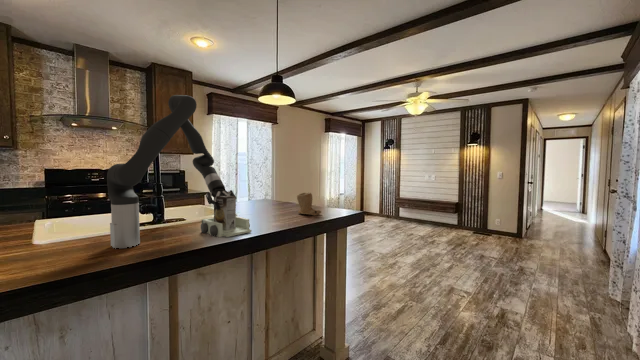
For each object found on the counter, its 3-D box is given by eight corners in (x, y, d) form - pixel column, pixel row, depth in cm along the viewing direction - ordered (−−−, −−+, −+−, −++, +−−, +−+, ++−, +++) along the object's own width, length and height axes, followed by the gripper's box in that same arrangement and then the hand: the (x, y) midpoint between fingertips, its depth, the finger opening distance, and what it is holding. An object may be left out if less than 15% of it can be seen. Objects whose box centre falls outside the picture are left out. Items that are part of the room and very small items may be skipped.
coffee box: (213, 228, 138) (212, 195, 137) (223, 226, 144) (223, 194, 143) (226, 230, 133) (225, 197, 133) (236, 228, 139) (236, 195, 138)
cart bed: (221, 239, 124) (221, 225, 123) (199, 231, 137) (199, 219, 137) (256, 231, 138) (256, 219, 137) (233, 225, 151) (233, 214, 151)
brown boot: (293, 214, 188) (293, 192, 187) (305, 212, 197) (305, 191, 196) (309, 217, 178) (309, 193, 177) (321, 214, 187) (322, 192, 186)
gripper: (203, 179, 137) (216, 204, 130) (229, 178, 148) (242, 202, 141) (198, 189, 141) (210, 214, 134) (224, 188, 151) (236, 211, 144)
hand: (226, 208), depth 137 cm, fingers open, 8 cm apart
